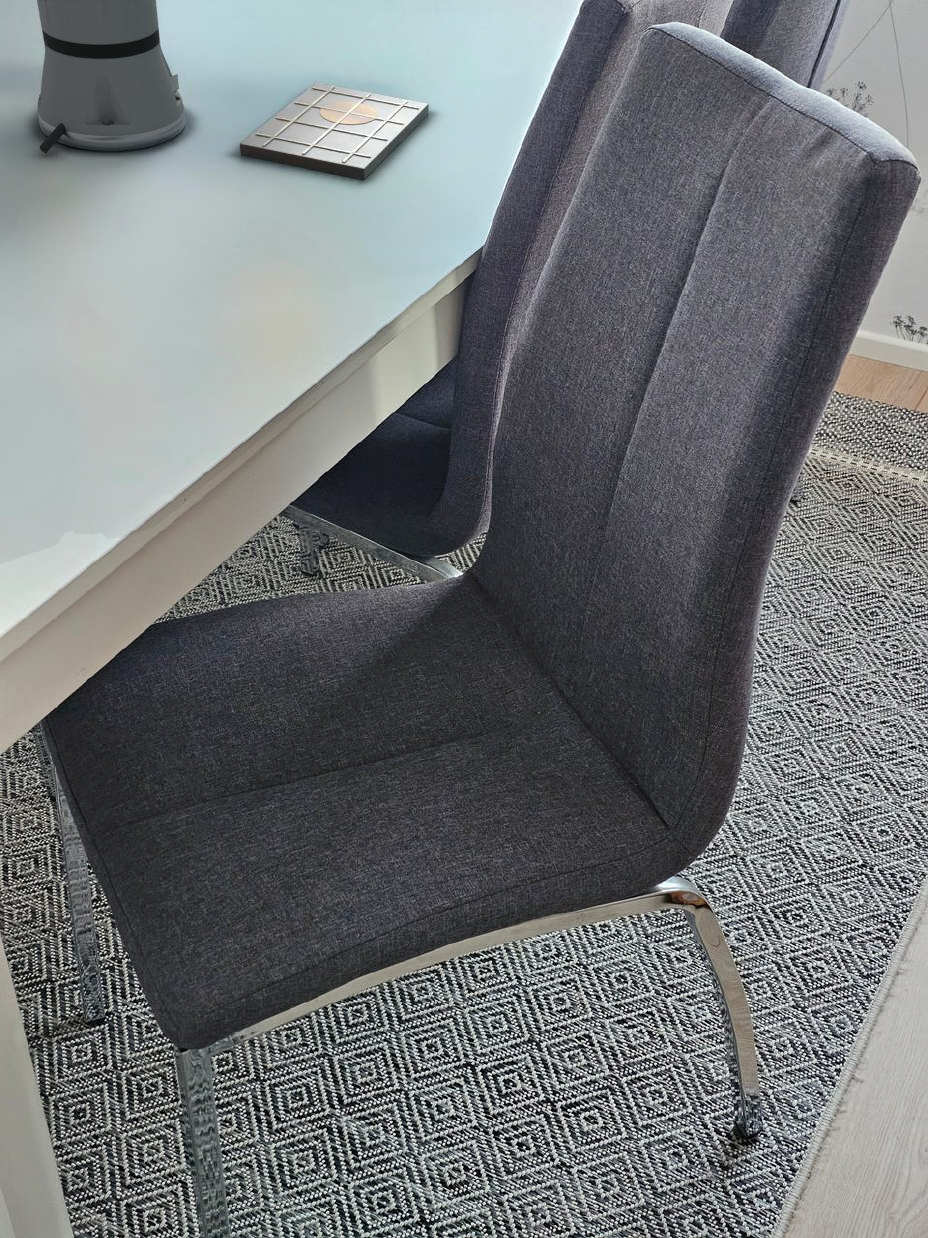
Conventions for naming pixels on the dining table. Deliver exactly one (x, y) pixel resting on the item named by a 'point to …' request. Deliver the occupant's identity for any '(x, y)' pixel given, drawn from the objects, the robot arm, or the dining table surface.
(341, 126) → the board
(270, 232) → the dining table surface
